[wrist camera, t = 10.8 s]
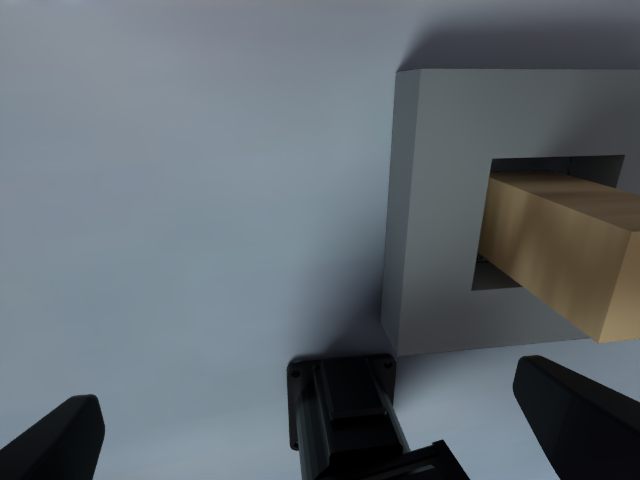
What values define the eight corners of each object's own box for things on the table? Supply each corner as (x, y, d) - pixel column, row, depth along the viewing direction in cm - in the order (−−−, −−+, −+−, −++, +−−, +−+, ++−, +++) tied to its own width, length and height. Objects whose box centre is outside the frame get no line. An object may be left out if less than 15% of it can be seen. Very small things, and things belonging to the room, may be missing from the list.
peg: (533, 240, 22) (700, 332, 13) (467, 244, 21) (597, 343, 13) (548, 169, 20) (746, 224, 12) (477, 172, 20) (631, 231, 11)
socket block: (588, 306, 24) (630, 334, 21) (380, 323, 22) (396, 356, 20) (655, 72, 19) (722, 69, 16) (395, 72, 17) (421, 68, 15)
